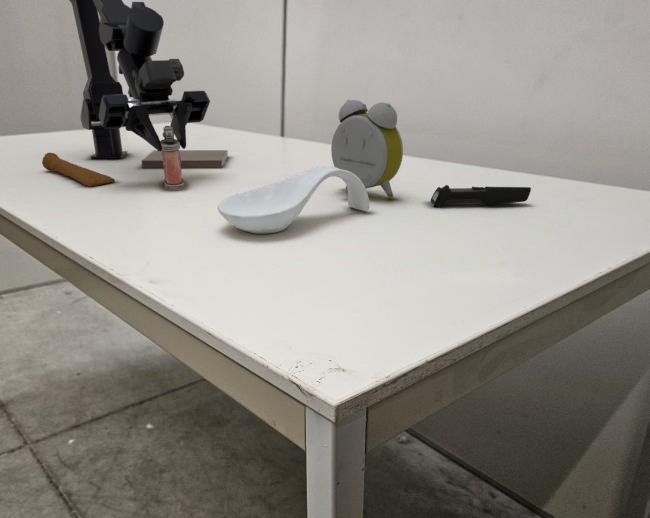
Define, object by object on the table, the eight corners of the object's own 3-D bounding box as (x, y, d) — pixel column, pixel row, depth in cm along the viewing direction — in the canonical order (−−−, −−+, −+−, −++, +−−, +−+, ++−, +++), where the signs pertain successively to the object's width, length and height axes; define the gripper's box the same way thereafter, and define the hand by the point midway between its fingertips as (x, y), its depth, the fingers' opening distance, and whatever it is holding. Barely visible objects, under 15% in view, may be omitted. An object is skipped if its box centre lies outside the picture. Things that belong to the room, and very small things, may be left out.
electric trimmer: (531, 209, 97) (535, 189, 96) (434, 207, 96) (435, 187, 95) (524, 203, 100) (527, 183, 99) (429, 202, 100) (431, 182, 99)
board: (154, 157, 135) (153, 150, 134) (228, 157, 136) (227, 150, 135) (142, 168, 124) (141, 160, 123) (222, 167, 125) (221, 160, 124)
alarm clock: (402, 198, 102) (408, 102, 95) (376, 206, 97) (380, 105, 91) (349, 187, 109) (351, 97, 103) (322, 194, 105) (323, 100, 98)
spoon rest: (247, 246, 78) (244, 190, 75) (204, 225, 87) (200, 174, 84) (384, 217, 91) (387, 168, 88) (336, 201, 100) (336, 156, 97)
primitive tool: (116, 182, 112) (113, 162, 111) (89, 187, 108) (85, 167, 107) (59, 169, 123) (56, 151, 121) (33, 173, 119) (29, 155, 118)
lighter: (185, 189, 107) (179, 129, 103) (165, 190, 106) (158, 130, 102) (182, 180, 114) (176, 123, 110) (163, 181, 113) (157, 124, 109)
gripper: (93, 41, 98) (126, 121, 95) (201, 41, 108) (234, 113, 104) (86, 90, 107) (116, 165, 104) (186, 86, 117) (217, 154, 114)
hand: (172, 148), depth 106 cm, fingers closed on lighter, 4 cm apart
